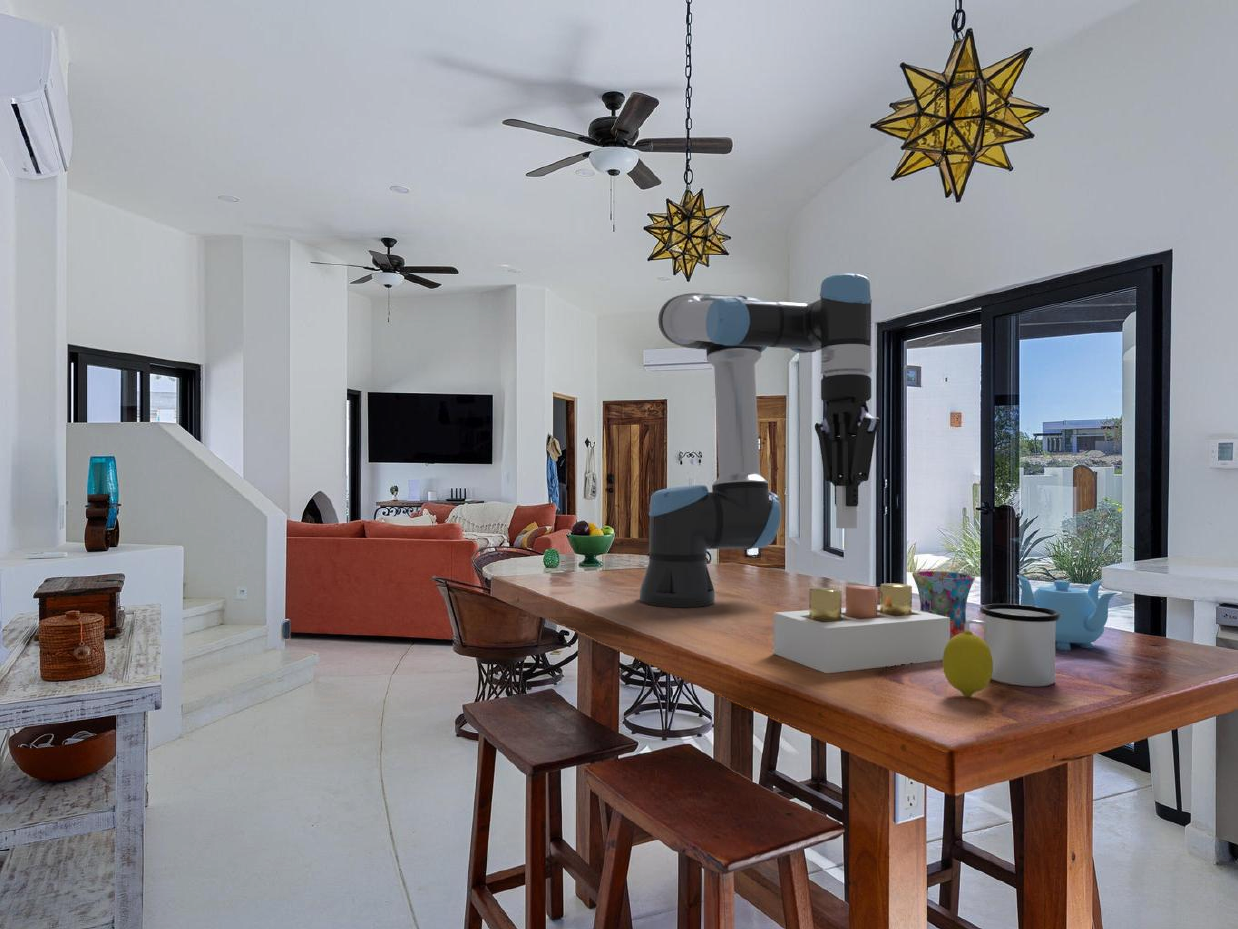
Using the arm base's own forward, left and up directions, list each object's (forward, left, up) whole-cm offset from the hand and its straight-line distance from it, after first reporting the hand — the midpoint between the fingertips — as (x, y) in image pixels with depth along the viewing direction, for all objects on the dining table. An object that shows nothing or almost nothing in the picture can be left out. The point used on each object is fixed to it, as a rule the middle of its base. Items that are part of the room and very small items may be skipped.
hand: (846, 528), depth 122 cm
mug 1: (+2, +19, -18) cm, 26 cm away
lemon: (+27, -4, -18) cm, 33 cm away
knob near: (+6, -9, -13) cm, 17 cm away
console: (+6, -2, -18) cm, 19 cm away
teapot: (+11, +34, -18) cm, 40 cm away
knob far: (+6, +4, -13) cm, 15 cm away
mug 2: (+22, +9, -18) cm, 30 cm away
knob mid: (+6, -2, -13) cm, 15 cm away
